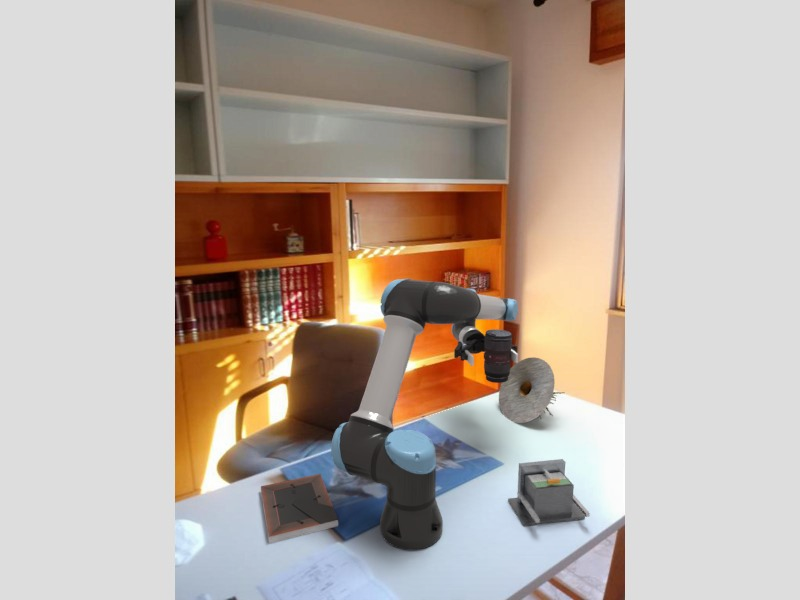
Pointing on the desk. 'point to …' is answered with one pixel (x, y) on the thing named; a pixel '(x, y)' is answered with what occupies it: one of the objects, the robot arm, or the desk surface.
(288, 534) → the picture frame
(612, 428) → the desk surface
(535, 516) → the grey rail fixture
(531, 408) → the disc
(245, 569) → the desk surface
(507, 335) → the camera lens
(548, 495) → the grey box on baseplate
